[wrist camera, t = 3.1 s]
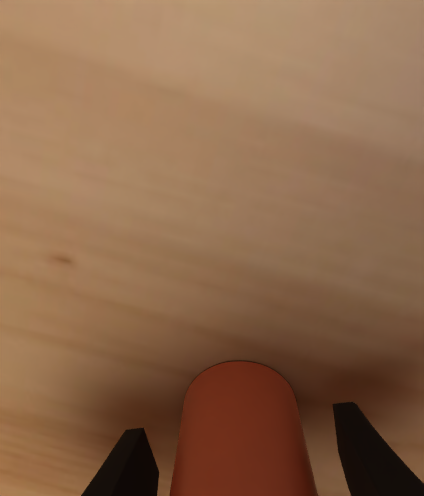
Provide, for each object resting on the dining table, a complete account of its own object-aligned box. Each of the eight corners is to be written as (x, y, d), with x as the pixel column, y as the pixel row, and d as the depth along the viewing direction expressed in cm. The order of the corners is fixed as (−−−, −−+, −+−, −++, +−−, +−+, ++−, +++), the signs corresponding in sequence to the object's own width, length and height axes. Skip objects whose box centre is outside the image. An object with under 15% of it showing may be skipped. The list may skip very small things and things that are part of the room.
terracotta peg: (288, 352, 12) (338, 557, 7) (302, 441, 14) (353, 674, 8) (172, 368, 13) (128, 574, 7) (197, 453, 14) (176, 681, 8)
